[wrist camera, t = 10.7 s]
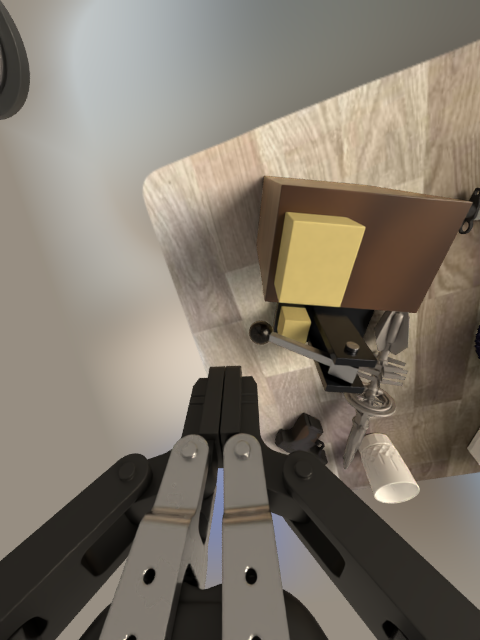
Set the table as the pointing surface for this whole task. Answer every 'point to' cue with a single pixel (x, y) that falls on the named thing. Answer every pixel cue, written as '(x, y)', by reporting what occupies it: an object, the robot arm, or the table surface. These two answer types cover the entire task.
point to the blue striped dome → (478, 342)
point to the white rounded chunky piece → (475, 447)
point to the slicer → (337, 341)
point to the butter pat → (316, 258)
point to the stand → (367, 237)
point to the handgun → (303, 437)
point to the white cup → (386, 470)
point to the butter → (294, 323)
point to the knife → (472, 212)
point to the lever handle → (300, 350)
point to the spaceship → (378, 378)
